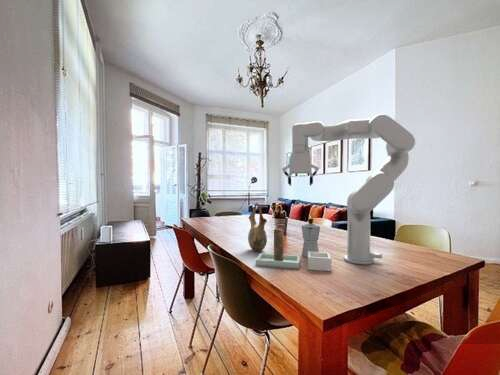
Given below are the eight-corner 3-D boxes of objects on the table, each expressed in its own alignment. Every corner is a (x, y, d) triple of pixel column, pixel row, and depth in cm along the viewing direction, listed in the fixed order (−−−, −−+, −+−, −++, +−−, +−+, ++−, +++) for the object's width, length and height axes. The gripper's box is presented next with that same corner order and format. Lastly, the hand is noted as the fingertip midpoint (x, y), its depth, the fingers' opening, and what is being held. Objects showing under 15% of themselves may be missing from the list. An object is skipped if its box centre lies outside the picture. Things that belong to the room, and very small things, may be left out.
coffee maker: (319, 260, 112) (319, 220, 112) (299, 258, 115) (299, 219, 115) (320, 252, 127) (321, 216, 126) (303, 250, 129) (303, 216, 129)
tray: (299, 261, 111) (299, 255, 111) (299, 269, 101) (299, 262, 100) (260, 258, 115) (260, 252, 115) (255, 265, 104) (255, 259, 104)
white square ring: (329, 264, 107) (329, 252, 107) (331, 271, 98) (331, 258, 98) (307, 262, 109) (307, 251, 109) (307, 269, 100) (308, 257, 100)
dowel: (283, 260, 109) (283, 228, 109) (282, 263, 105) (282, 230, 105) (274, 259, 110) (274, 228, 110) (273, 262, 106) (273, 230, 106)
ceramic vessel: (273, 253, 124) (273, 203, 123) (257, 255, 119) (257, 204, 119) (257, 246, 138) (257, 201, 138) (242, 248, 134) (242, 202, 134)
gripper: (318, 150, 121) (318, 185, 121) (282, 151, 125) (282, 185, 125) (319, 148, 114) (319, 185, 114) (281, 149, 117) (281, 185, 117)
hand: (300, 185), depth 119 cm, fingers open, 9 cm apart
